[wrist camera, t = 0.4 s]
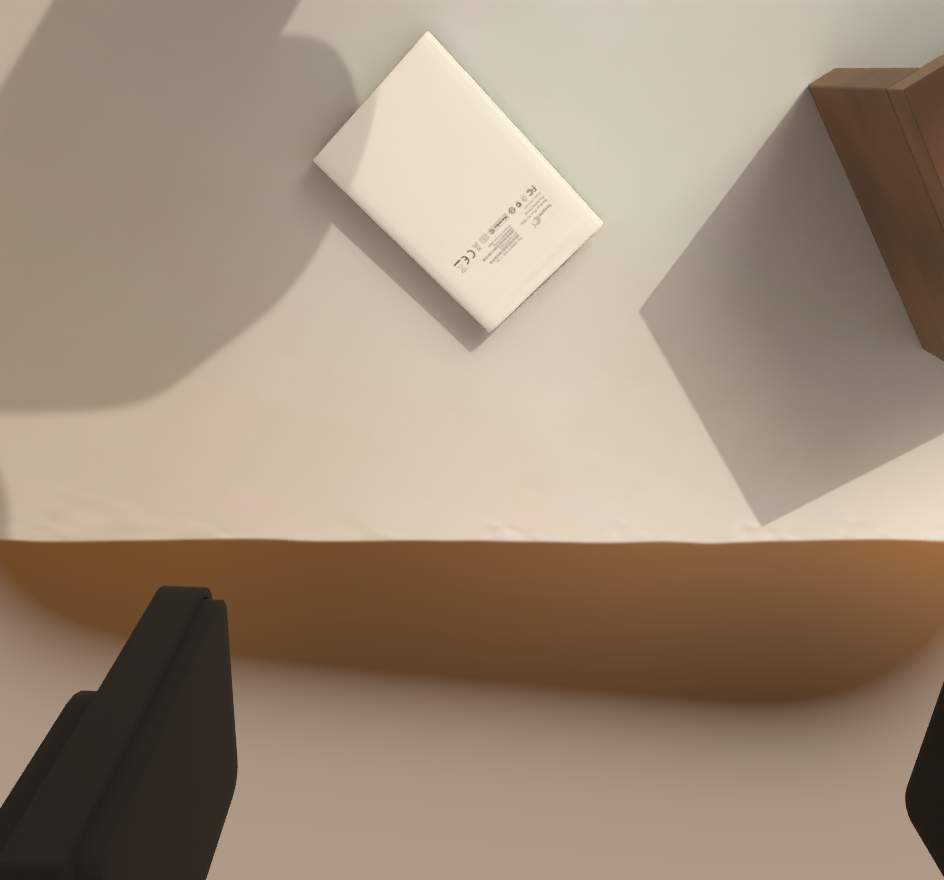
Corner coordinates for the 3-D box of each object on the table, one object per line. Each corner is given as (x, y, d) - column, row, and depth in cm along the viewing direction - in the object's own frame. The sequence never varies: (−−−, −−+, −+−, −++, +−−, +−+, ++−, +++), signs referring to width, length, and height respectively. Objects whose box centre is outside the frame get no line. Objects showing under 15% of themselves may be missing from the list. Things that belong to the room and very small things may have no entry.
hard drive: (428, 31, 40) (600, 219, 44) (316, 158, 43) (488, 327, 46) (427, 29, 39) (605, 224, 42) (310, 161, 41) (488, 335, 45)
